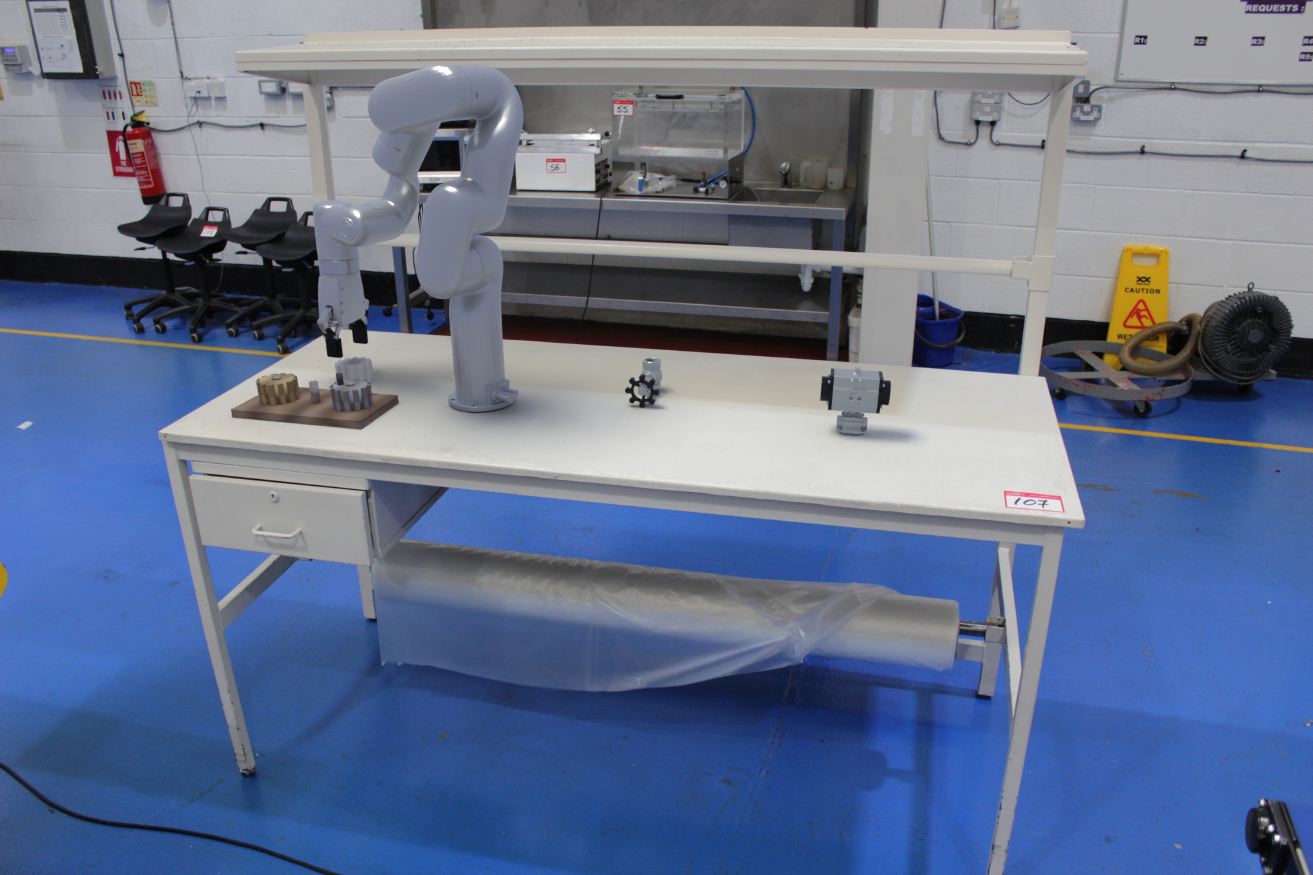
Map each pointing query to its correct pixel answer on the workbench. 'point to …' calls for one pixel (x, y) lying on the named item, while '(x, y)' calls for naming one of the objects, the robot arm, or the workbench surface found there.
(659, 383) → the valve
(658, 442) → the workbench surface
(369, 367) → the gear
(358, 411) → the gear board
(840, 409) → the pneumatic valve
